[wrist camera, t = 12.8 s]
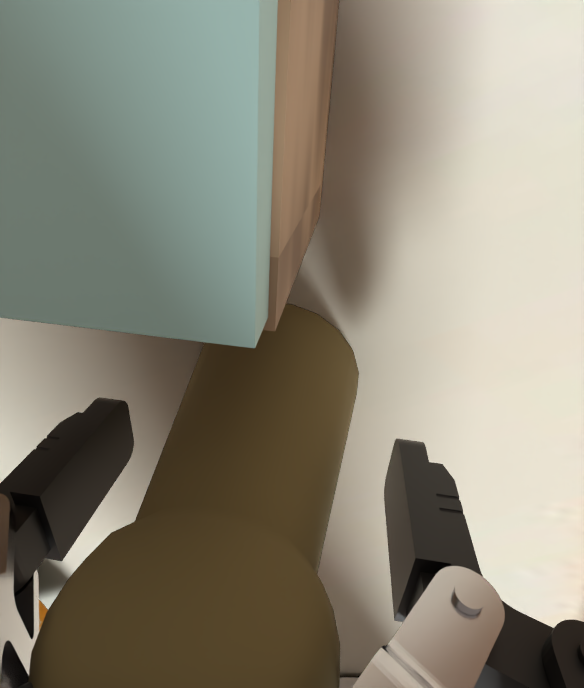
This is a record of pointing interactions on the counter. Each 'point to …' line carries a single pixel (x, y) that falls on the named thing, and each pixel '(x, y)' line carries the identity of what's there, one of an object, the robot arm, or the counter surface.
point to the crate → (298, 137)
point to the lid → (138, 165)
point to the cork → (222, 533)
